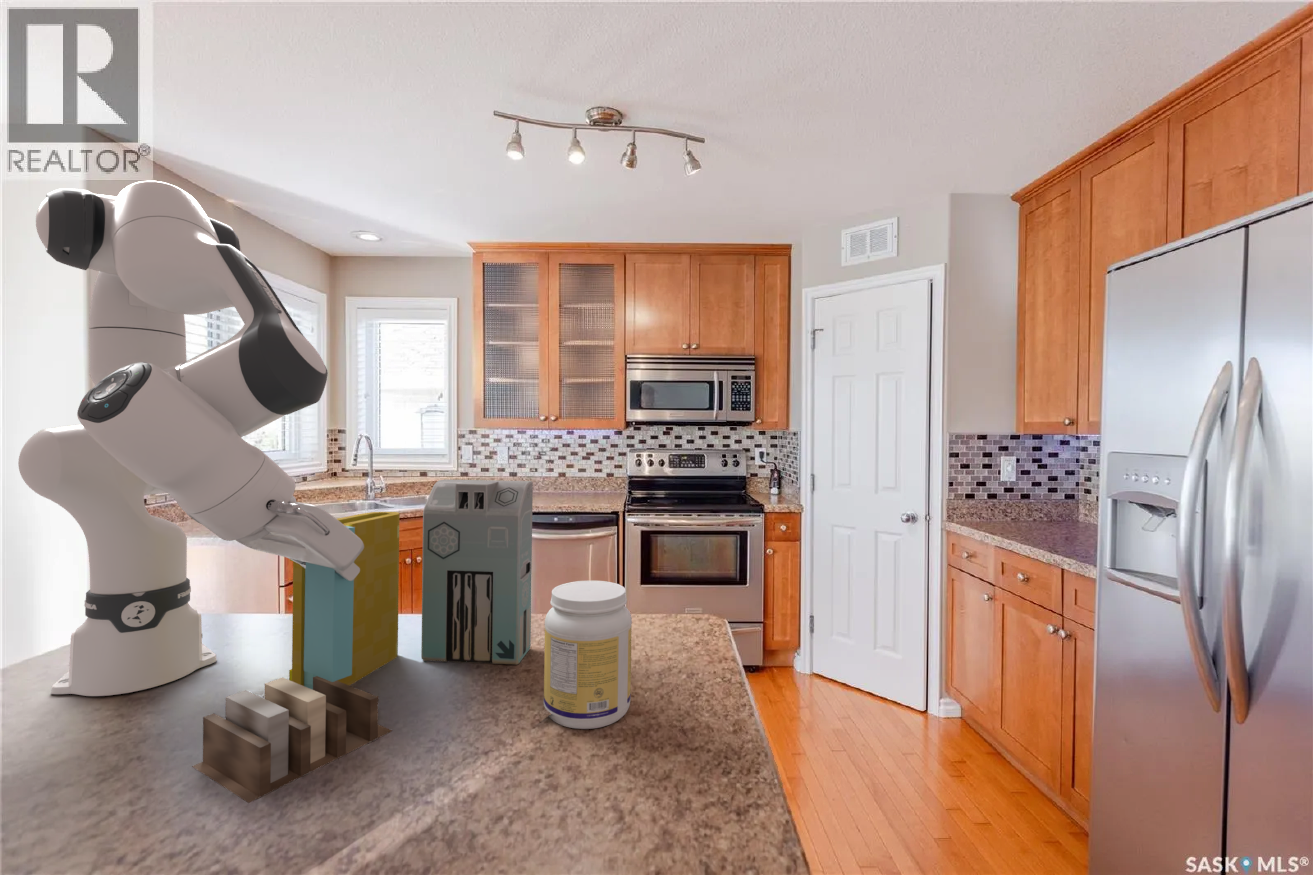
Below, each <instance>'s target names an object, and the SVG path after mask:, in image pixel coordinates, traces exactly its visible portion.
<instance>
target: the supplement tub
mask: <svg viewBox="0 0 1313 875" xmlns="http://www.w3.org/2000/svg"><path fill="white" fill-rule="evenodd" d="M627 602H628V600H627V594H626V588H625V586H623V585H621V584H619V583H615V582H611V581H606V580H577V581H571V582H567V583H565V582H564V583H562V584H559V585H557V586H555V587H553V588H552V590H551V599H550V605H551V608H550V609H549V610H548V611H547V613H546V616H545V619H544V669H543V670H544V672H543V673H544V674H543V676H544V677H543V706H544V708H545V710H546V711H547V712H548V713H550V714H549V715H548V718H549V719H550V720H552V722H554V723H556V724H558V725H560V726H564V727H567V728H570V729H571V728H572V729H576V730H578V729H579V730H580V729H581V730H589V729H590V730H591V729H598V728H603V727H606V726H609V725H612V724H614V723H616V722H617V721H619V720H621V719H622V718H623V717H624V716H625V715H626V714H627V711H628V710H629V708H630V705H631V699H632V696H631V695H632V694H631V690H632V689H631V686H632V684H631V683H632V681H631V679H632V625H633V620H632V614H631V612H630V610H629V609H628V607H627V606H626V604H627Z"/></svg>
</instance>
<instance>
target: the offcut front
mask: <svg viewBox="0 0 1313 875" xmlns="http://www.w3.org/2000/svg"><path fill="white" fill-rule="evenodd" d="M224 715H225V718H224V719H226V720H228V721H230V722H232V723H233V724H235V725H237V726H239V727H241V728H243V729H245V730H247V731H249V732H251V733H252V734H254V735H256V736H258V737H260V738H262V739H264V740H266V741H268V742H270V743H271V782H270V783H272V782H274V781H276V780H278V779H280V778H282V777H284V776H286V775H288V732H289V710H288V709H286V708H284V707H281V706H279V705H277V704H275V703H273V702H270V701H268V700H266V699H264V698H263V697H262V696H259V695H257V694H256V693H253V692H250V691H248V690H246V689H245V690H242V691H239V692H236V693H233V694H231V695H228V696H225V714H224Z"/></svg>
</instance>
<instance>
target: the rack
mask: <svg viewBox="0 0 1313 875" xmlns="http://www.w3.org/2000/svg"><path fill="white" fill-rule="evenodd" d="M313 690H314V691H317V692H319V693H322V694H324V695H326V727H325V757H323V758H321V759H319V760H317V761H315V762H313V763H311V764H310V750H311V726H310V725H308V724H306V723H303V722H301V721H299V720H297V719H295V718H293V717H291V716H289V732H288V775H286V776H284V777H282V778H280V779H278V780H276V781H274V782H272V783H270V782H271V743H270V742H268V741H266V740H264V739H262V738H260V737H258V736H256V735H254V734H252V733H251V732H249V731H247V730H245V729H243V728H241V727H239V726H237V725H235V724H233V723H232V722H230V721H228V720H226V719H225V718H224V717H222V716H220V715H218V714H216V713H214V712H213V713H210V714H208V715H205V716H203V717H202V719H203V720H202V723H203V725H202V761H201V762H199V763H196V764H194V765H192V766H191V767H192V768H194V769H195V770H197V771H198V772H200V773H201V774H203V775H204V776H206V777H207V778H209V779H211V780H212V781H214V782H215V783H216V784H218V785H220V786H221V787H222V788H224V789H226V790H228V791H229V792H231V793H232V794H234V795H235V796H237V797H238V798H240V799H241V800H243V801H245V802H246V803H248V804H249V803H252V802H253V801H256V800H258V799H259V798H261V797H262V798H263V797H264V796H266V795H267V794H270V793H272V792H273V791H276V790H278V789H279V788H282V787H283V786H285V785H288V784H289V783H292V782H294V781H295V780H298V779H299V778H300V779H301V777H303V776H305V775H307V774H310V773H312V772H314V771H316V770H317V769H319V768H321V767H324V766H326V765H327V764H329V763H331V762H333V761H335V760H337V759H338V760H339V758H341V757H343V756H346V755H347V754H349V753H352V752H353V751H355V750H357V749H360V748H361V747H364V746H365V745H367V744H370V743H371V742H373V741H375V740H377V739H379V738H382V737H384V736H385V735H387V734H389V733H391V732H393V729H390V728H388V727H386V726H383V725H380V724H379V696H377V695H375V694H372V693H369V692H367V691H364V690H363V689H362V690H361V689H360V688H356V687H354V686H352V685H350V686H349V685H347V684H344V683H341V682H339V681H334V682H331V681H328V680H326V679H323V678H321V677H318V676H315V677H313Z"/></svg>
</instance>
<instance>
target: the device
mask: <svg viewBox="0 0 1313 875" xmlns="http://www.w3.org/2000/svg"><path fill="white" fill-rule="evenodd" d="M533 483H534V482H533V481H531V480H491V479H487V480H485V479H484V480H483V479H451V478H450V479H447V478H446V479H438V480H437V481H436V482H435V483H434V485H432V488H431V491H430V493H429V495H428V498H427V500H426V503H425V505H424V507H423V510H422V511H423V512H422V571H421V572H422V575H421V581H422V583H421V587H422V588H421V650H420V651H421V652H420V653H421V660H422V661H425V662H446V663H449V662H453V663H473V664H474V663H475V664H494V665H495V664H496V665H497V664H498V665H500V664H501V665H516V666H517V665H519V664H520V663H521V661H522V660H523V658H524V657H525V656H526V655H527V654H528V652H529V651H530V649H531V644H532V642H531V640H532V639H531V638H532V637H531V636H532V635H531V634H532V632H531V629H532V628H531V627H532V625H531V624H532V574H533V573H532V567H533V566H532V564H533V563H532V562H533V560H532V559H533V556H532V555H533V551H532V550H533V498H534V497H533V496H534V495H533V494H534V493H533V491H534V490H533V489H534V488H533V486H534V484H533ZM448 661H449V662H448Z"/></svg>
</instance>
